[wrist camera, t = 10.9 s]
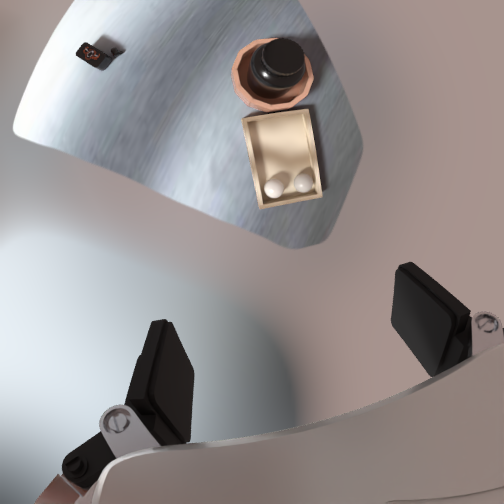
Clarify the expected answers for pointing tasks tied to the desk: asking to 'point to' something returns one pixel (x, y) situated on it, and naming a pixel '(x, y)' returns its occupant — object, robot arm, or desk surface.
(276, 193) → the pebble
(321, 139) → the desk surface
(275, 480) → the robot arm
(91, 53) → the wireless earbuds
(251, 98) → the bowl
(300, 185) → the pebble
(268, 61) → the supplement bottle
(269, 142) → the tray
